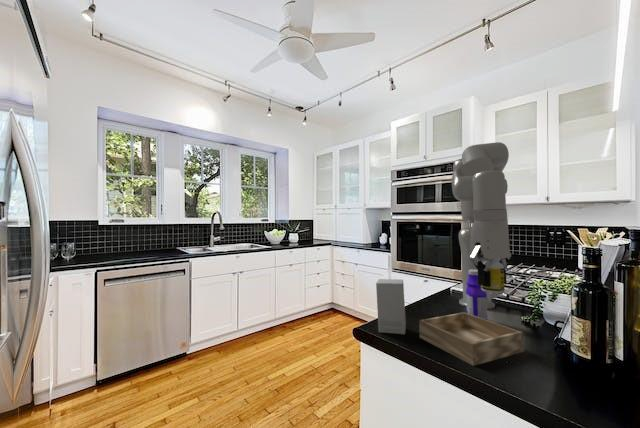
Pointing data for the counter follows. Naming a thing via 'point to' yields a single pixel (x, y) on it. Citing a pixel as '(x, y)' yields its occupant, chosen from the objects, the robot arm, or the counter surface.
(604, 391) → the counter surface
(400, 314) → the skincare box
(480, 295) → the bottle
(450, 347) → the crate
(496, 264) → the supplement bottle
